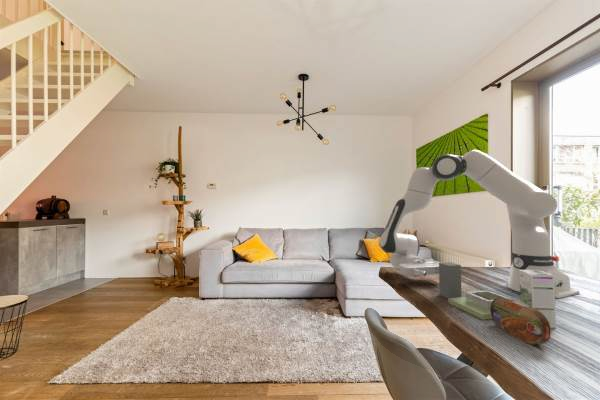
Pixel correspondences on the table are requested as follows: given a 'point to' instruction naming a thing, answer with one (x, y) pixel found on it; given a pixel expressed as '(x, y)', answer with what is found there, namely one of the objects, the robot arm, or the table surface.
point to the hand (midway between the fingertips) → (435, 273)
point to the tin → (520, 321)
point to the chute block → (450, 280)
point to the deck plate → (476, 303)
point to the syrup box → (538, 293)
